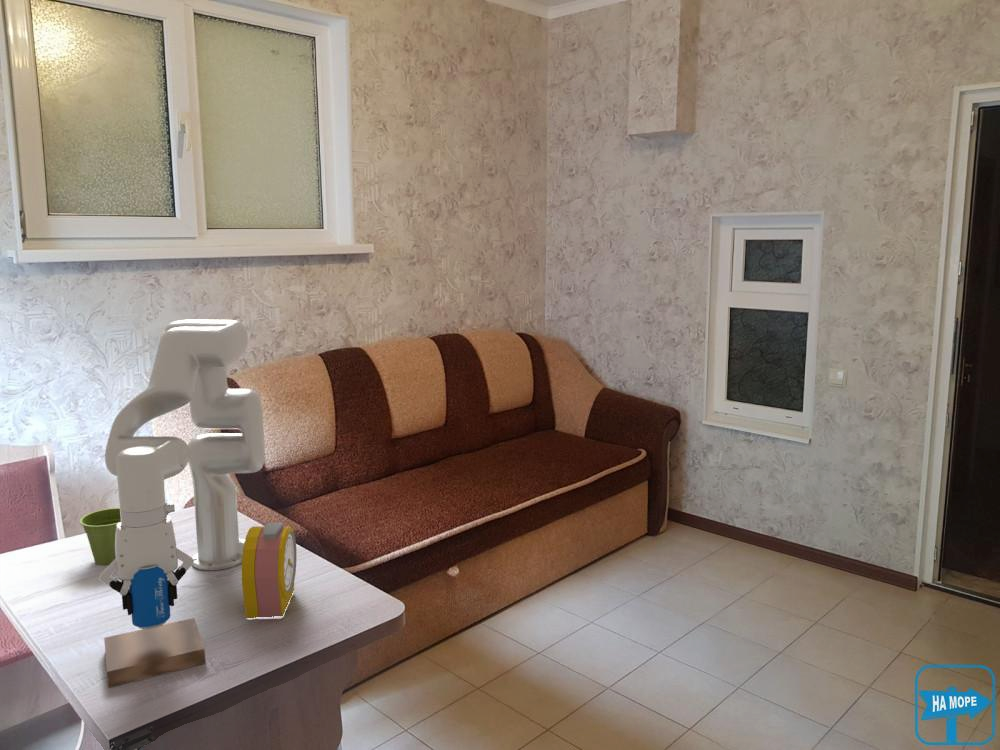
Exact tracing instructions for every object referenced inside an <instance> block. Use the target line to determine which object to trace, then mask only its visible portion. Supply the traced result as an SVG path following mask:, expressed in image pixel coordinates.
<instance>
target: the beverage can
mask: <svg viewBox="0 0 1000 750" xmlns="http://www.w3.org/2000/svg"><path fill="white" fill-rule="evenodd" d="M158 566H159V565H156V566H153V567H148V568H138V569H139V570H138V571H137V572H136V573H135V574H134V577H133V579H132V580H131V585H130V587H129V589H130V593H131V603H132V614H131V622H132V625H133V626H135V627H136V628H138V629H139V630H142V629H153V628H157V627H159V626H161V625H164V624H166V622H167V621H168V620H170V618H171V615H172V614H171V606H170V603H169V589H168V578H167V576H166V573H164V570H163V569H161V568H159V567H158Z"/></svg>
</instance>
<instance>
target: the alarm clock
mask: <svg viewBox="0 0 1000 750" xmlns="http://www.w3.org/2000/svg"><path fill="white" fill-rule="evenodd" d="M244 540H245V543H244V547H243V555H242V562H241V584H242V585H241V586H242V593H243V602H244V604H243V606H244V610H245V611H244V612H245V619H246V618H254V617H255V618H256V617H272V616H273V617H274V616H283V614H284V612H285V609H286V607H287V605H288V602H289V600H290V598H291V596H292V593H293V591H294V592H295V580H296V571H297V551H298V550H297V542H296V541H297V539H296V535H295V532H294V530H293V528H292V527H291V526H290V525H284V524H283V522H282V521H281V522H276V521H275V522H274V521H273V522H268V523H267V524H265V525H264V526H252V527H250V528H249V529H248V531H247V533H246V536H245V538H244Z"/></svg>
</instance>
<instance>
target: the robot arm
mask: <svg viewBox="0 0 1000 750" xmlns="http://www.w3.org/2000/svg"><path fill="white" fill-rule="evenodd" d="M246 328H247V327H245V325H244V324H243V323H242V322H241V321H239V320H235V319H234V320H233V319H181V320H175V321H171V322H170V323H169V324H167V326H166V327H165V328H164V329H165V330H164V332H163V334H162V335H161V337H160V339H159V342H158V345H157V350H156V354H155V358H154V362H153V366H152V370H151V373H150V376H149V377H150V378H149V382H148V386H147V387H146V388H145V389H144V390H142V392H140V393H138V394H137V395H136V396H135V397H134V398H132V399H131V400H130V401H129V402H128V403H127V404H126V405H125V406H124V407H123V408H121V410H120V411H119V412H118V413H117V415H116V417H115V418H114V420H113V423H112V425H111V428H110V432H109V435H108V438H107V443H106V447H105V452H104V461H105V466H106V469H107V471H108V472H109V473H110V474H112V475H113V476H114V477H115V476H116V480H117V492H118V504H119V508H120V518H121V522H120V523H118V524H117V526H116V533H115V559H114V561H113V562H112V563H111V564H110V565H108V566H106V568H105V569H104V570H103V571H102V572H100V574H99V577H98V578H99V581H100V582H102V583H104V584H105V585H106V586H108V587H109V588H111V589H113V590H114V591H115V592H118V593H119V594H120V595H121V601H122V604H121V605H122V610H123V611H125V610H126V612H127V616H132V603H131V593H130V589H129V587H130V585H131V580H132V579H133V577H134V574H135V573H136V572H137V571H138V570H139V569H138V568H148V567H153V566H156V565H159V566H158V567H159V568H161V569H163V570H164V573H166V576H167V578H168V589H169V603H170V607H174V606H175V600H177V599H178V586H177V585H178V584H179V581H180V580H181V579H182V578H183V577H184V576H185V575H186V573H187V571H189V569H190V568H191V567H194V568H196V569H198V570H204V571H218V570H224V569H228V568H231V567H235V566H237V565H239V564H242V555H243V547H244V543H245V539H242V538H240V536H239V521H238V517H239V516H238V500H237V499H238V497H237V488H236V486H235V483H234V482H233V480H232V479H231V477H230V476H229V475H228V474H251V473H256V472H259V471H260V470H261V469H262V468H263V466H264V463H265V459H266V446H265V432H264V431H265V429H264V411H263V405H262V400H261V397H260V396H259V394H258V392H256V391H255V390H254V389H251V388H230V387H229V385H228V376H227V367H229V366H230V365H232V364H234V363H235V362H237V361H238V360H239V359H241V358H242V356H243V355H244V353H245V352H246V350H247V347H248V343H249V341H248V339H249V336H248V332H247V329H246ZM188 404H189V410H190V416H191V421H192V423H193V426H195V427H196V428H199V429H202V430H239V431H240V432H238V433H237V432H235V433H234V432H233V433H230V432H220V433H219V432H218V433H217V432H215V433H214V432H213V433H211V432H210V433H202V434H198V435H196V436H193V437H192V438H191V440H189V442H188V444H187V442H186V441H185V440H183V439H182V438H180V437H177V436H165V435H164V436H155V435H154V436H148V435H147V436H145V435H144V436H135V434H136V432H137V431H138V430H139V429H140V428H141V427H142V426H144V425H145V424H147V423H148V422H149V421H151V420H154V419H156V418H158V417H161V416H163V415H166V414H168V413H171V412H174V411H176V410H178V409H180V408H183V407H184V406H186V405H188ZM187 465H188V466H189V471H190V474H191V475H190V476H191V481H192V489H193V501H194V514H195V515H194V516H195V528H196V529H195V530H196V531H195V532H196V544H197V546H196V547H197V552H196V553H194V554H193V555H192V556H190V555H189V554H187V553H185V552H184V551H182V550H181V549H179V548H177V544H176V535H175V530H174V525H173V521H172V518H171V516H170V515H169V514H171V513H174V512H175V504H168V503H167V502H166V492H165V480H167V479H170V478H172V477H175V476H177V475H178V474H180V473H181V472H183V471H184V469H185V468H186V467H187ZM179 561H181V562H182V564H181V565H180V566H179V565H178V563H179ZM115 572H116V573H117V577H118V579H119V580H118V579H116V578H114V577H112V575H113V574H114V573H115Z"/></svg>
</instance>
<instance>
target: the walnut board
mask: <svg viewBox="0 0 1000 750" xmlns="http://www.w3.org/2000/svg"><path fill="white" fill-rule="evenodd" d="M103 639H104V641H103V642H104V650H105V652H104V653H105V663H106V673H107V683H108V684H107V685H108V688H114V687H116V686H120V685H125V684H129V683H131V682H135V681H141V680H145V679H149V678H152V677H157V676H161V675H164V674H165V675H166V674H169V673H172V672H173V673H174V672H176V671H177V672H178V671H180V670H185V669H189V668H192V667H193V668H194V667H196V665H197V666H200V665H201V666H202V665H204V663H206V651H205V650H206V649H205V646H204V643H203V639H202V637H201V634H200V630H199V628H198V624H197V621H196V618H195V617H192V618H188V619H184V620H180V621H174V622H170V623H164V624H163V625H161V626H159V627H157V628H153V629H138V630H134V631H128V632H125V633H120V634H116V635H110V636H106V637H104V638H103Z"/></svg>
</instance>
